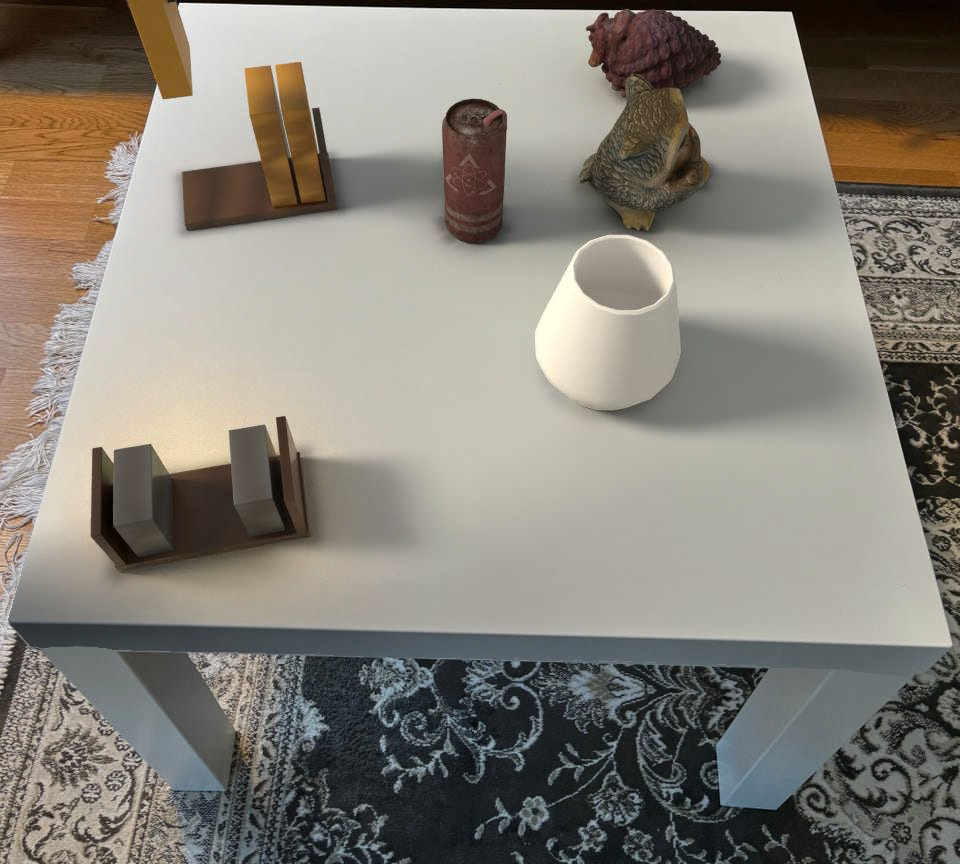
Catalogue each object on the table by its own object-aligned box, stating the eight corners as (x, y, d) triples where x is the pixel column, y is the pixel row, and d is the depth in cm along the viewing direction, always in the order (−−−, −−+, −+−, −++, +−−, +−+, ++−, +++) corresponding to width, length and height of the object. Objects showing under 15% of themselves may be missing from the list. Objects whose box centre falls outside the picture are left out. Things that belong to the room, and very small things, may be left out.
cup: (542, 305, 89) (554, 202, 77) (676, 326, 88) (709, 225, 76) (520, 416, 82) (529, 322, 70) (665, 441, 81) (699, 350, 69)
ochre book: (162, 99, 77) (115, -34, 67) (160, 49, 81) (115, -84, 71) (192, 96, 78) (150, -37, 67) (189, 46, 81) (148, -88, 71)
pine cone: (696, 43, 111) (744, 4, 101) (697, 122, 110) (746, 90, 101) (566, 21, 105) (604, -23, 96) (567, 104, 105) (605, 68, 95)
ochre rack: (186, 230, 94) (148, 131, 82) (184, 178, 98) (147, 76, 87) (338, 209, 95) (320, 109, 84) (329, 158, 99) (311, 56, 88)
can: (515, 231, 94) (522, 123, 82) (463, 253, 92) (462, 147, 80) (485, 195, 97) (488, 86, 85) (434, 217, 95) (430, 108, 83)
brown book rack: (118, 572, 74) (87, 537, 68) (118, 488, 78) (89, 448, 72) (311, 536, 76) (297, 499, 70) (301, 456, 80) (287, 415, 74)
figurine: (721, 248, 93) (761, 133, 80) (582, 246, 93) (600, 131, 80) (704, 155, 100) (738, 35, 88) (575, 153, 100) (591, 33, 87)
